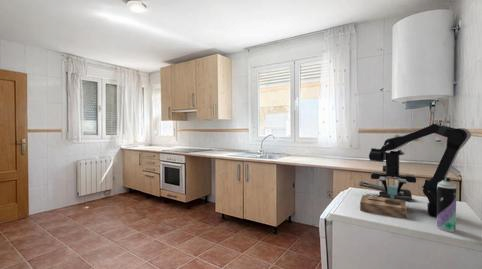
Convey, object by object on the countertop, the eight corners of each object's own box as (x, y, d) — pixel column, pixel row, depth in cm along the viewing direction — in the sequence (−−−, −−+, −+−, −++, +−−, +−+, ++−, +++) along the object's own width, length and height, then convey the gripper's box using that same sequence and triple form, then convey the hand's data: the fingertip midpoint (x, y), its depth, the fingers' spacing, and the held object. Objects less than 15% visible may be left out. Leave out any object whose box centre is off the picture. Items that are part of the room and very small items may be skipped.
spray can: (437, 229, 89) (438, 178, 88) (435, 224, 93) (436, 175, 92) (457, 233, 86) (458, 179, 85) (453, 227, 90) (454, 176, 89)
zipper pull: (359, 180, 139) (410, 185, 127) (359, 191, 140) (410, 197, 127) (358, 184, 132) (412, 189, 119) (358, 195, 132) (412, 202, 119)
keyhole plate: (404, 208, 111) (404, 200, 111) (406, 217, 100) (406, 208, 100) (362, 202, 120) (362, 194, 120) (360, 210, 109) (360, 202, 109)
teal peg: (396, 203, 118) (396, 186, 117) (397, 206, 114) (397, 188, 114) (387, 202, 120) (387, 185, 119) (387, 204, 116) (387, 187, 116)
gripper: (413, 162, 118) (413, 192, 119) (371, 159, 128) (371, 187, 128) (416, 165, 108) (416, 198, 109) (370, 162, 118) (370, 192, 119)
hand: (392, 193), depth 117 cm, fingers closed on teal peg, 4 cm apart
